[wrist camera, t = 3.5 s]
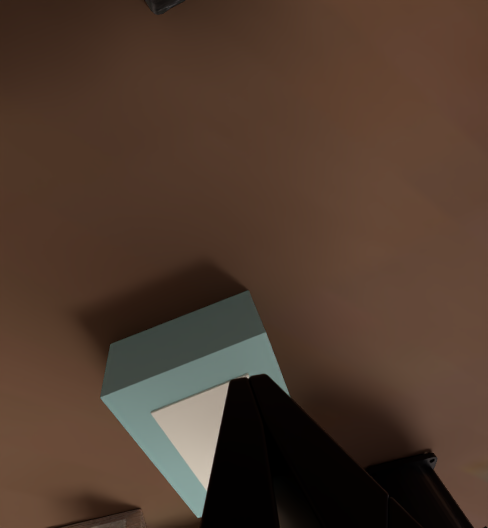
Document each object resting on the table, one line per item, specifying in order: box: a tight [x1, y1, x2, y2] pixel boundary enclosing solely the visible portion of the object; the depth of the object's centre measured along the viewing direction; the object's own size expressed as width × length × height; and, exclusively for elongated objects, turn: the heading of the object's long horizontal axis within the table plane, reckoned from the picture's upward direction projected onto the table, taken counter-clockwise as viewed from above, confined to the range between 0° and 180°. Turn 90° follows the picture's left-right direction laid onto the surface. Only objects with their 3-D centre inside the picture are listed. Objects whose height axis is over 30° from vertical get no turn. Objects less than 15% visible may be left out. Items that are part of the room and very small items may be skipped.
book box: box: [100, 290, 290, 518], centre depth 21 cm, size 8×12×4 cm, turn 18°
